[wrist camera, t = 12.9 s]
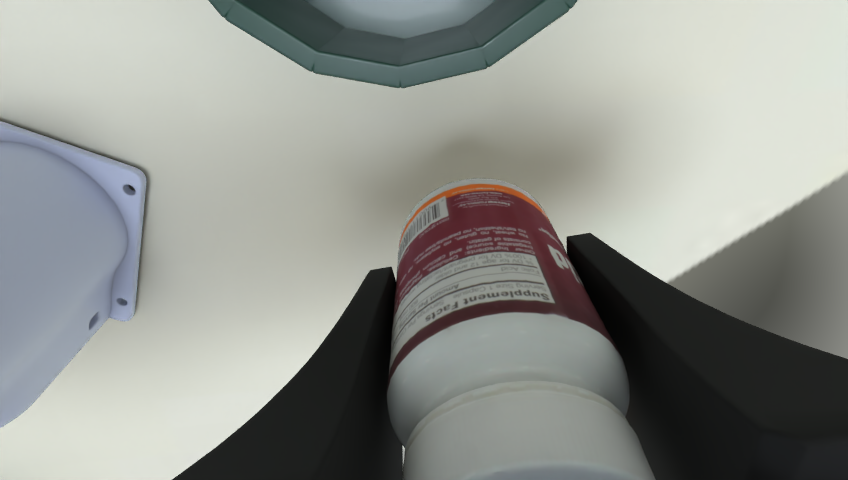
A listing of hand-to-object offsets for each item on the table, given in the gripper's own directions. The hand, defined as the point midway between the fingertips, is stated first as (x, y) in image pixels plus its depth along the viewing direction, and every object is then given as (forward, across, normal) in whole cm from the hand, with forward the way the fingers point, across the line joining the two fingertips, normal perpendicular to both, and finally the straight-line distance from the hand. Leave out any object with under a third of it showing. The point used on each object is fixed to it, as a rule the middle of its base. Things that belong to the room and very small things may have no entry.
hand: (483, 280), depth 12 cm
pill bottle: (+2, 0, 0) cm, 2 cm away
